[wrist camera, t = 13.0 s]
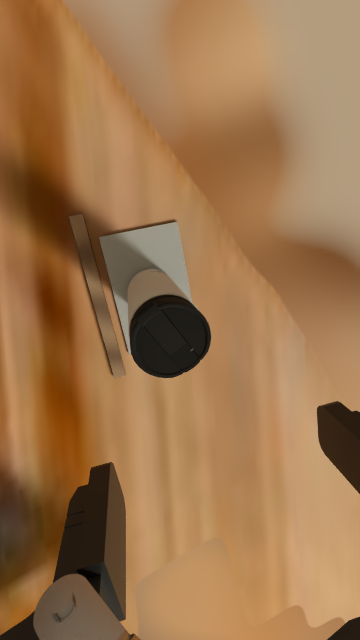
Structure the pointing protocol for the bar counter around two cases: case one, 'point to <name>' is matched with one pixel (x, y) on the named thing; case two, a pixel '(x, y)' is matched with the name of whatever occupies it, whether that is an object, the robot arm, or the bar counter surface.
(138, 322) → the travel mug
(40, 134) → the bar counter surface
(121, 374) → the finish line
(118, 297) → the mat
